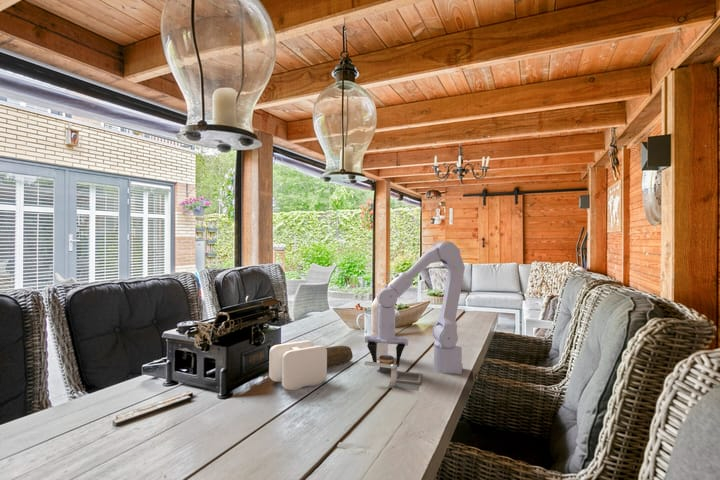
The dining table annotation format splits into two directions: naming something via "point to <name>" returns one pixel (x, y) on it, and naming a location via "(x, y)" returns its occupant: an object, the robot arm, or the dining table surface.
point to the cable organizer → (298, 364)
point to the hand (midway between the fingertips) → (386, 365)
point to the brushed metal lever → (381, 365)
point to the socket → (405, 380)
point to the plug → (387, 360)
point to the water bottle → (381, 347)
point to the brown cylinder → (338, 355)
